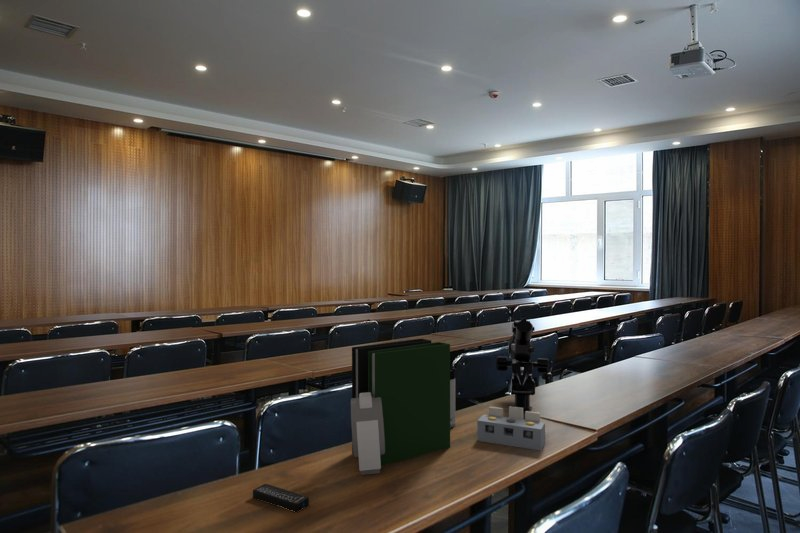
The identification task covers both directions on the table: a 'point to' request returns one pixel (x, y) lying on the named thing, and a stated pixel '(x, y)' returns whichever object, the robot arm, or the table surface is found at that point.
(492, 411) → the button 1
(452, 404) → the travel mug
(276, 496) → the multiport hub
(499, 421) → the console
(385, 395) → the binder
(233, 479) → the table surface
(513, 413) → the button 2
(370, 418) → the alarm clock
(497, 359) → the robot arm
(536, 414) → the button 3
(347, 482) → the table surface
